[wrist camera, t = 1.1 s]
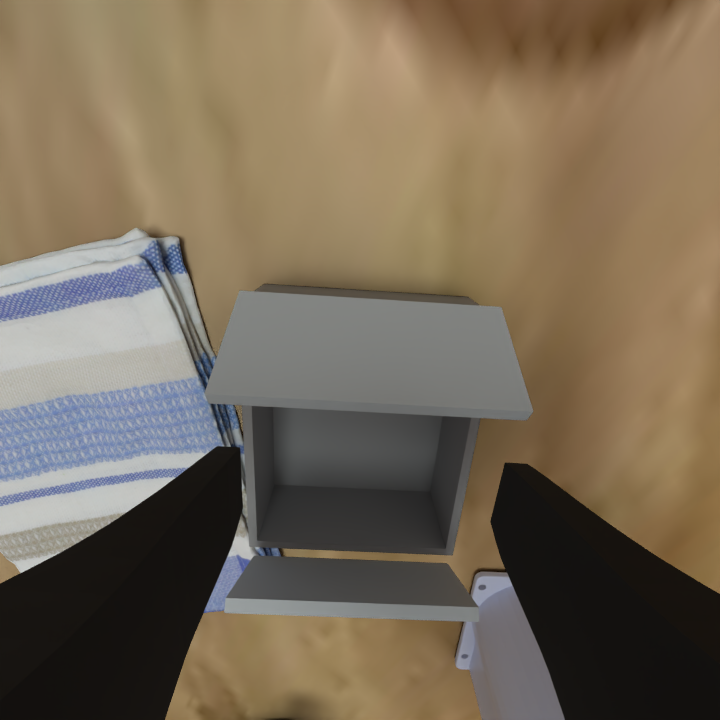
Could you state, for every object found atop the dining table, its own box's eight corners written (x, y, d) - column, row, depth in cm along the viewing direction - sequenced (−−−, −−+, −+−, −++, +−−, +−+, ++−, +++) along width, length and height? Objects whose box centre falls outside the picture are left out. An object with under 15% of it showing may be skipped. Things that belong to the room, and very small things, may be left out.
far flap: (447, 563, 18) (447, 574, 18) (253, 555, 18) (252, 566, 18) (479, 607, 14) (478, 622, 14) (225, 597, 14) (224, 612, 14)
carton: (435, 493, 23) (452, 555, 19) (269, 485, 23) (249, 546, 18) (468, 296, 19) (500, 320, 14) (264, 283, 18) (236, 304, 14)
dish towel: (182, 221, 18) (152, 222, 15) (301, 578, 26) (295, 618, 24) (-150, 288, 19) (-233, 300, 16) (66, 611, 27) (35, 654, 25)
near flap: (526, 420, 11) (533, 411, 11) (208, 403, 11) (203, 393, 11) (496, 317, 14) (501, 306, 14) (242, 301, 14) (239, 290, 13)
